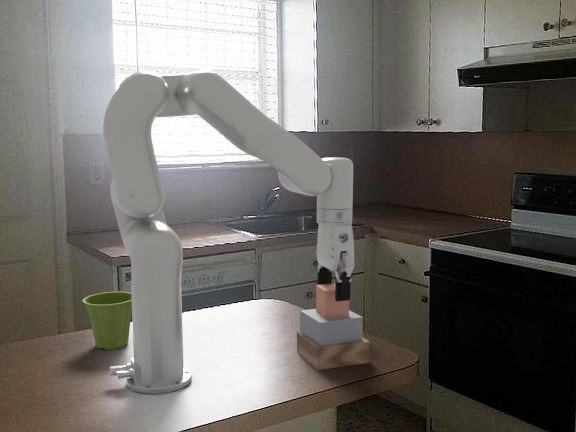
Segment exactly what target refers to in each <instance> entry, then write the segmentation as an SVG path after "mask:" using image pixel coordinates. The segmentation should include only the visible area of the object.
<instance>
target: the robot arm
mask: <svg viewBox="0 0 576 432" xmlns="http://www.w3.org/2000/svg"><path fill="white" fill-rule="evenodd" d="M193 115H195V116H197V115H198V116H199V118H200V119H202V120H204V121H205V122H206V124H208V125H210V126H211V127H212V128H213V129H215V130H216V131H217V132H218V133H219V134H220V135H222V136H223V137H224V138H225V139H226V140H227V141H228V142H229V143H231V144H232V145H233V146H235V148H237V149H239V150H240V151H242V152H243V153H245V154H247V155H250V156H252V157H254V158H256V159H259V160H260V161H263V162H264V163H266V164H268V165H269V166H271V167H272V168H274V169H275V170H277V178H278V181H279V183H280V185H281V186H282V187H283V188H285V189H286V190H288V191H290V192H293V193H295V194H299V195H300V194H301V195H304V196H308V197H315V196H316V223H317V224H318V228H317V239H316V241H317V242H316V243H317V244H316V250H315V254H316V263H317V266H316V271H317V281H316V282H317V284H316V285H323V284H333V283H332V282H333V281H332V279H333V278H332V277H333V276H332V275H333V273H332V272H334V274H335V278H337V282H336V281H335V283H334V284H335V300H336V301H348V300H349V301H350V300H351V283H352V277H353V275H354V274H353V271H354V268H355V241H354V230H353V225H352V224H353V203H354V202H353V201H354V198H353V197H354V163H353V161H352V159H350V158H347V157H334V156H333V157H332V156H331V157H323V158H321V157H320V156H319V154H317V153H316V152H315V151H314V150H313V149H312V148H311V147H309V146H308V145H307V144H306V143H305V142H304V141H302V140H301V139H300V138H298V137H297V136H296V135H294V134H293V133H292V132H289V131H288V130H287V129H285V127H282V126H281V125H280V124H279V123H278V122H276V121H274V120H273V119H272V118H270V117H268V116H267V115H266V114H264V112H262V111H261V110H260V109H258V107H256V106H255V105H254V104H253V103H252V102H250V100H249V99H247V98H246V97H245V96H244V95H243V94H241V93H240V92H239V91H238V89H236V88H235V87H234V86H232V85H231V84H230V83H229V82H228V81H227V80H226V79H225V78H224V77H222V76H221V75H219V74H218V73H217V72H215V71H213V70H210V69H199V70H195V71H192V72H186V73H176V74H175V73H173V74H169V73H168V74H158V73H157V72H154V71H151V70H140V71H137V72H134V73H133V74H130V75H129V76H127V77H126V78H124V80H123V81H122V82H121V83H120V85H119V87H118V89H117V90H116V91H115V92H114V93H113V95H112V96H111V98H110V100H109V102H108V105H107V107H106V110H105V114H104V117H103V123H102V133H103V140H104V146H105V150H106V155H107V160H108V164H109V169H110V172H111V175H112V180H111V182H110V185H109V187H110V188H109V194H110V199H111V203H112V208H113V210H114V215H115V217H116V218H115V219H116V221H117V225H118V229H119V233H120V236H121V240H122V242H123V247H124V249H125V251H126V253H127V254H128V256H129V258H130V263H131V266H130V267H131V268H130V269H131V274H130V275H131V276H130V277H131V278H130V285H131V286H130V289H131V290H130V291H131V292H130V293H131V301H132V312H131V319H132V342H133V357H130V362H126V363H125V364H123V365H118V364H117V365H113V366H109V375H110V377H117V379H118V380H119V379H126V386H127V388H129V389H130V390H132V391H134V392H137V393H141V394H164V393H165V394H166V393H170V392H174V391H175V392H176V391H178V390H180V389H183V388H185V387H186V386H188V385H189V384H190V383H191V381H192V379H193V377H192V372H191V371H190V370H189V369H188V368H186V367H185V366H184V345H183V343H184V340H183V339H184V338H183V306H182V305H183V304H182V272H183V261H184V258H183V257H184V255H183V254H184V253H183V252H184V251H183V245H182V243H181V239H180V237H179V236H178V234H177V233H176V232H175V231H174V230H173V228H172V227H170V226H169V225H168V224H167V221H166V215H165V213H164V208H163V206H164V204H165V200H166V190H165V189H166V188H165V186H164V184H163V181H162V176H161V173H160V170H159V166H158V162H157V158H156V155H155V154H156V153H155V149H154V145H153V139H152V125H153V123H154V120H155V119H156V118H166V117H167V118H171V117H184V116H193ZM338 267H340V268H338ZM340 272H343V273H342V275H340Z"/></svg>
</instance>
